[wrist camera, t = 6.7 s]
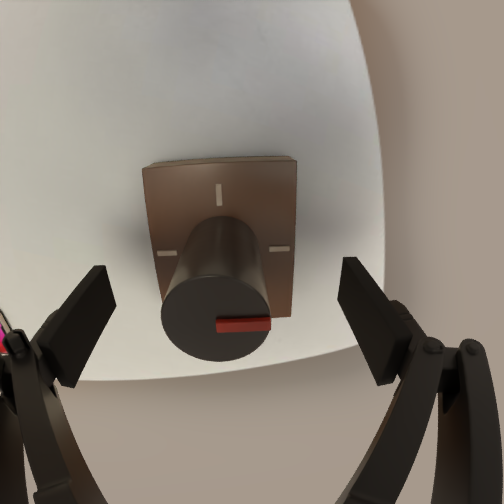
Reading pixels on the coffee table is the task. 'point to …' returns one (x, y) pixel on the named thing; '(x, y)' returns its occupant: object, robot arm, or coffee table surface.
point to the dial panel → (226, 212)
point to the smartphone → (3, 333)
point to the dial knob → (218, 293)
